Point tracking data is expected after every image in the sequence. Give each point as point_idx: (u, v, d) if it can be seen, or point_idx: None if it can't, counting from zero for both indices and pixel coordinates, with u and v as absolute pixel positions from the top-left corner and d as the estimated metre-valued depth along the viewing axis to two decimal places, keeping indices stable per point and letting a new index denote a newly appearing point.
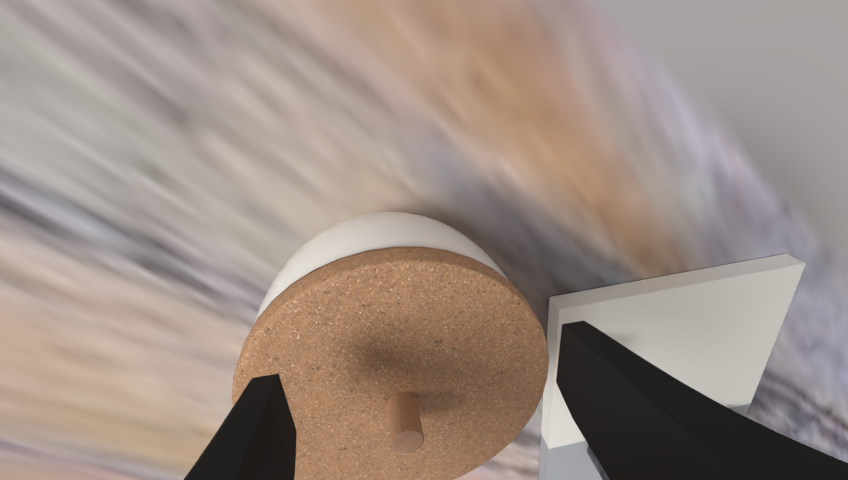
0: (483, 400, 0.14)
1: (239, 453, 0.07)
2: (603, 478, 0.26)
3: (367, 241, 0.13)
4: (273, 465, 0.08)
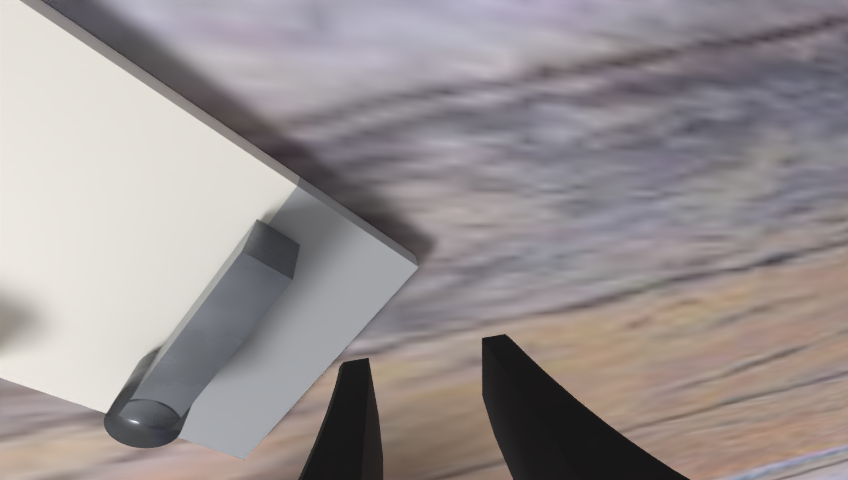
0: None
1: (358, 430, 0.08)
2: None
3: None
4: (375, 445, 0.09)
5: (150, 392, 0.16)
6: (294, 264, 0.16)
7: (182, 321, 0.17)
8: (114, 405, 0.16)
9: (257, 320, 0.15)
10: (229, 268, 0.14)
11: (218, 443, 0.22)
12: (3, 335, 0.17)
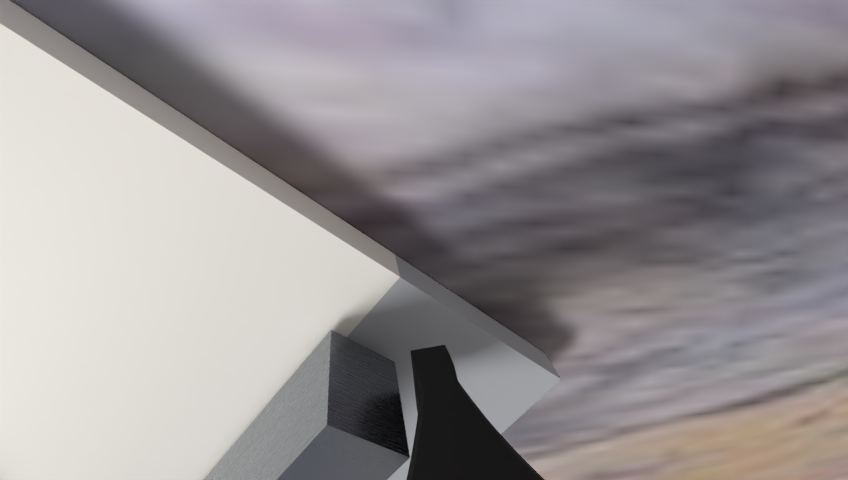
0: None
1: (458, 410, 0.08)
2: None
3: None
4: None
5: None
6: (401, 414, 0.09)
7: None
8: None
9: None
10: (302, 450, 0.08)
11: None
12: None
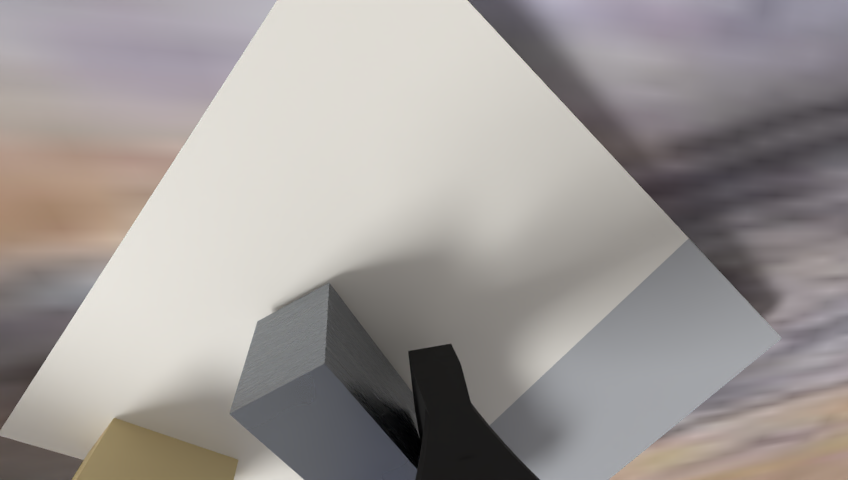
0: None
1: (465, 409, 0.08)
2: None
3: None
4: None
5: None
6: (323, 328, 0.08)
7: None
8: None
9: (381, 433, 0.08)
10: (259, 436, 0.08)
11: None
12: (256, 451, 0.12)
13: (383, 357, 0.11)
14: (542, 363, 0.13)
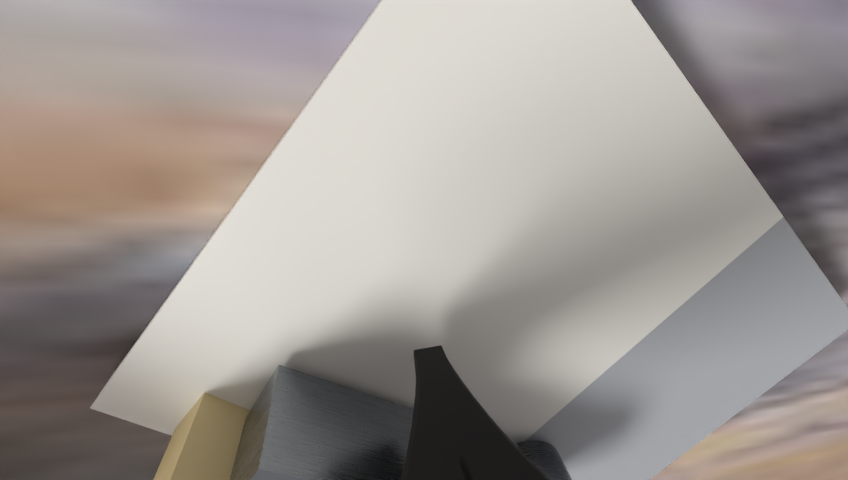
0: None
1: (453, 411, 0.08)
2: None
3: None
4: None
5: None
6: (266, 424, 0.09)
7: None
8: None
9: None
10: None
11: None
12: None
13: (371, 399, 0.11)
14: (624, 343, 0.13)
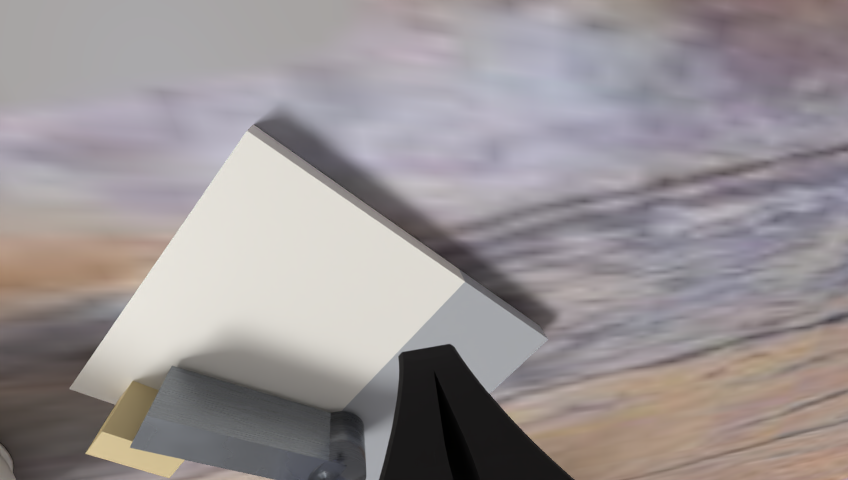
0: None
1: (433, 415, 0.08)
2: None
3: None
4: None
5: (299, 478, 0.20)
6: (156, 396, 0.17)
7: None
8: None
9: (202, 430, 0.17)
10: (151, 451, 0.17)
11: None
12: None
13: (228, 385, 0.20)
14: (387, 353, 0.21)
